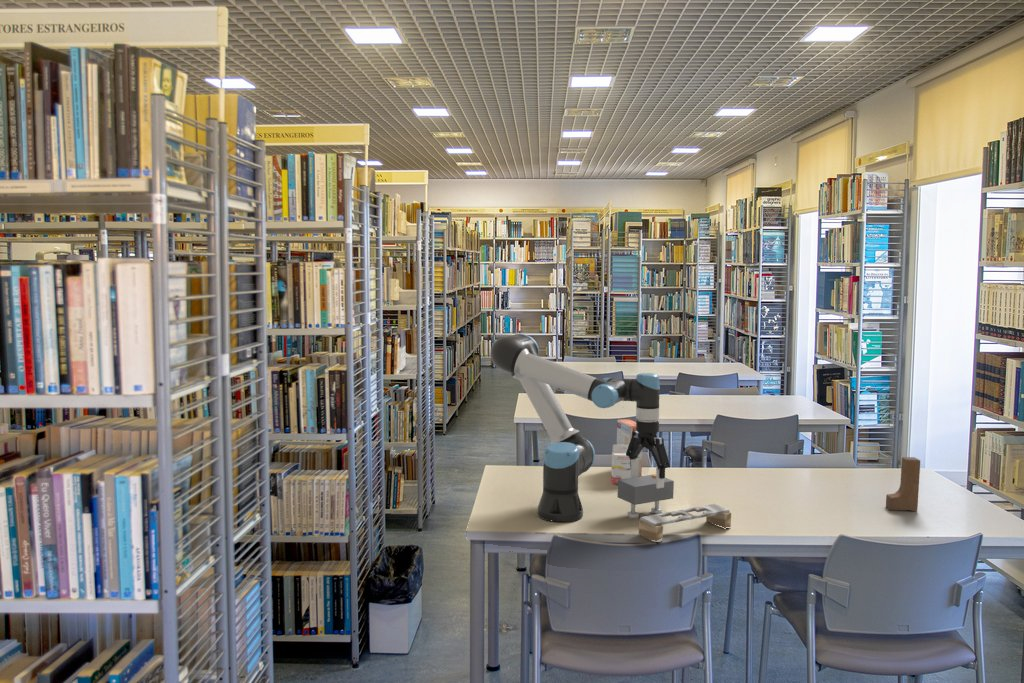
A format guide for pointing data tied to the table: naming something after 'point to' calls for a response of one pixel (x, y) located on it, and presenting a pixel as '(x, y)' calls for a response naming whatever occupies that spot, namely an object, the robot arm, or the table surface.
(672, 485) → the grey box orange tab
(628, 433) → the cracker box
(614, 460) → the ink cartridge box
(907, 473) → the wooden block
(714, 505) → the keyhole board
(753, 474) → the table surface
